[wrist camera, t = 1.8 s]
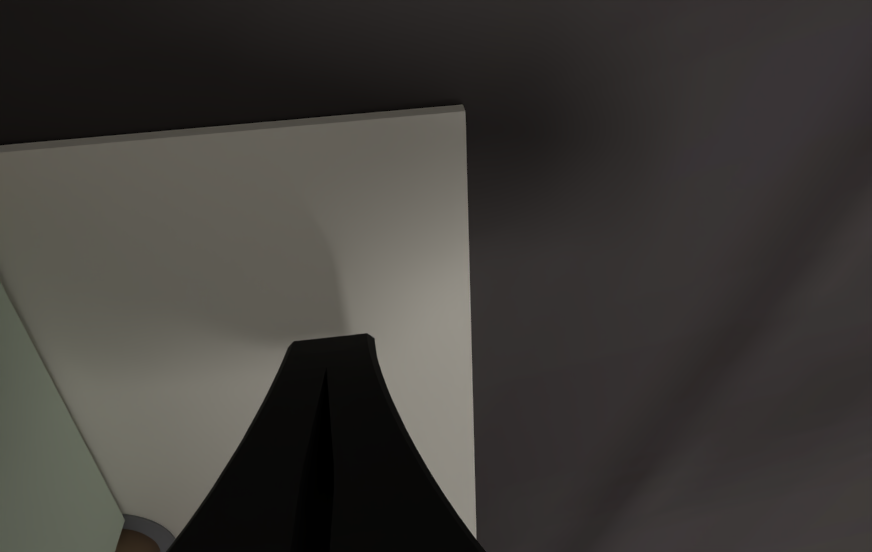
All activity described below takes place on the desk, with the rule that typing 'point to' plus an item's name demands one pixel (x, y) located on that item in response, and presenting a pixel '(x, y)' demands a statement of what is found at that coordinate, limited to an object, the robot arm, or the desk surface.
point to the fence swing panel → (45, 459)
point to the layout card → (241, 286)
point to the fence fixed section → (135, 542)
